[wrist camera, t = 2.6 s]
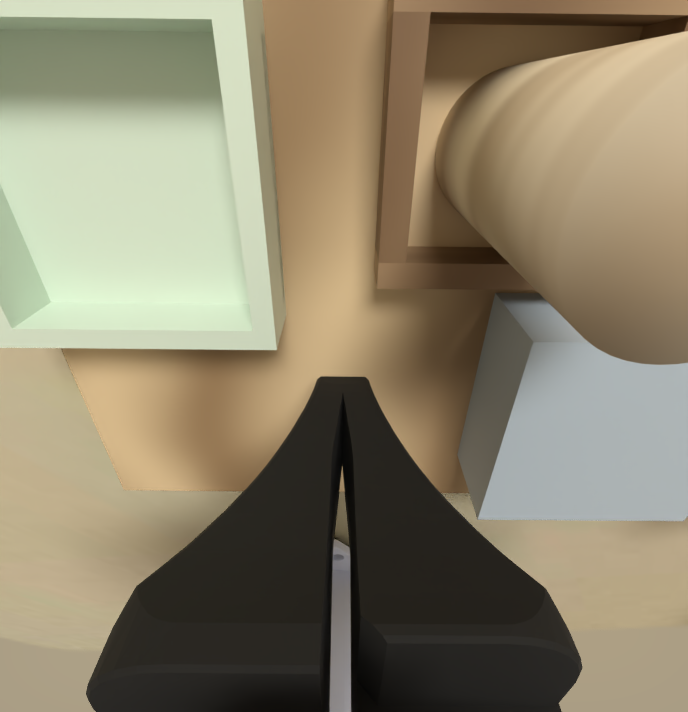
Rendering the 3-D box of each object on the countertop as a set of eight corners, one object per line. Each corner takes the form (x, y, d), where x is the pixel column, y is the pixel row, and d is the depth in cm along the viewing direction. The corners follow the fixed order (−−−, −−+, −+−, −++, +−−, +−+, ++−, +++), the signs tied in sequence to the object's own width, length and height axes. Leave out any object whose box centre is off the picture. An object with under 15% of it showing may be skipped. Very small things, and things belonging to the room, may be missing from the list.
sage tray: (262, 0, 7) (240, -26, 6) (286, 314, 11) (276, 349, 9) (-91, -4, 7) (-206, -32, 6) (48, 312, 11) (0, 347, 9)
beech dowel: (603, 151, 9) (970, 228, 4) (484, 247, 10) (636, 407, 5) (531, 23, 7) (924, -137, 2) (407, 149, 9) (496, 222, 4)
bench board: (1207, 0, 8) (1443, -27, 6) (778, 478, 15) (831, 524, 14) (-67, -16, 8) (-182, -49, 6) (133, 472, 15) (107, 518, 14)
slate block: (724, 295, 10) (820, 344, 8) (631, 456, 14) (683, 521, 12) (495, 292, 10) (533, 342, 8) (457, 454, 14) (477, 519, 12)
